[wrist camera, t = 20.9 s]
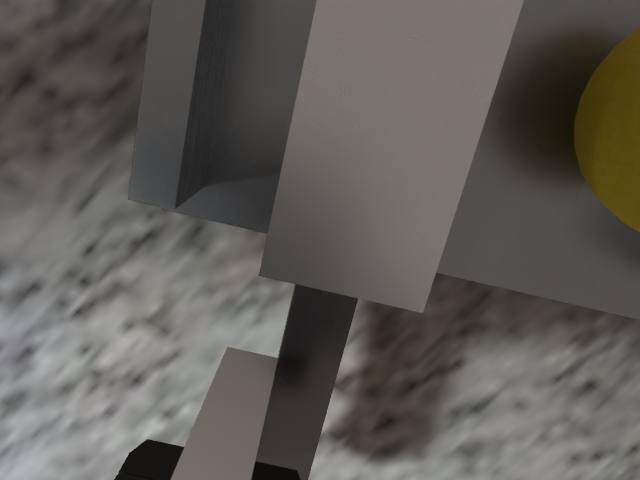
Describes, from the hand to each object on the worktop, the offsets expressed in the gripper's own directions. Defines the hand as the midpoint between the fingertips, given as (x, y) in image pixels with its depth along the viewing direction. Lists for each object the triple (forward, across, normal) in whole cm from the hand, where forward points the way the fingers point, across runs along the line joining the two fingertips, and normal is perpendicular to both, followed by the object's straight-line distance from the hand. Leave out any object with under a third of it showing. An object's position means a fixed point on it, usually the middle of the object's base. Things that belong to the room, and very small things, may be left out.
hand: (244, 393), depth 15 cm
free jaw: (+3, +1, +4) cm, 5 cm away
